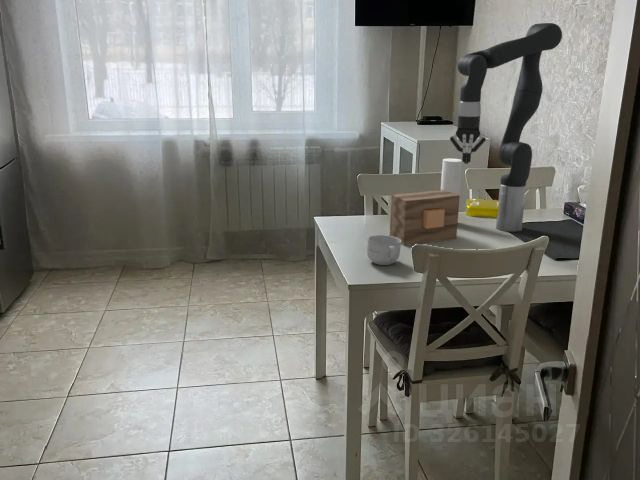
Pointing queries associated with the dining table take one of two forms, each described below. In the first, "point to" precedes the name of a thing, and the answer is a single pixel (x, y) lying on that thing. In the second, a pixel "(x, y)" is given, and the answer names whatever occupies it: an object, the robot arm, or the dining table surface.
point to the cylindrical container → (451, 175)
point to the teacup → (383, 249)
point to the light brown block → (433, 218)
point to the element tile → (482, 208)
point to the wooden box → (410, 216)
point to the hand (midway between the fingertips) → (466, 163)
